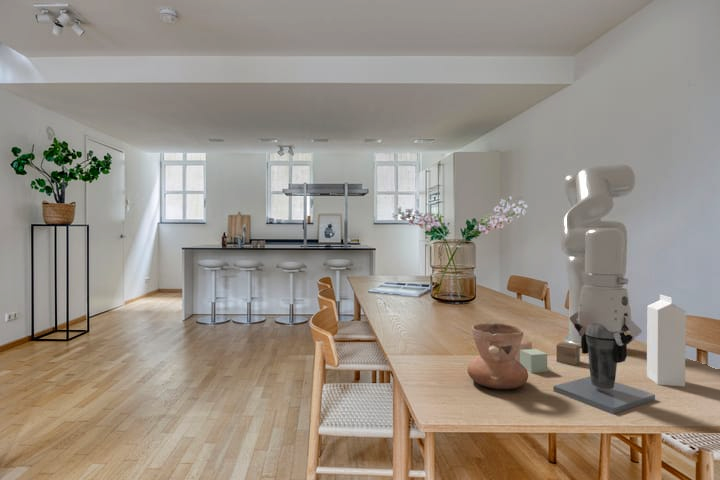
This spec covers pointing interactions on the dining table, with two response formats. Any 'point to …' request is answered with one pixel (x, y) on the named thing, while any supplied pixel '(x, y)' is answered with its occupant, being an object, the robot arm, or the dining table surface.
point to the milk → (666, 342)
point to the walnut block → (568, 353)
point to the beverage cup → (601, 356)
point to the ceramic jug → (497, 356)
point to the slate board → (604, 395)
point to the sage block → (533, 360)
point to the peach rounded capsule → (523, 348)
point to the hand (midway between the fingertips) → (602, 356)
